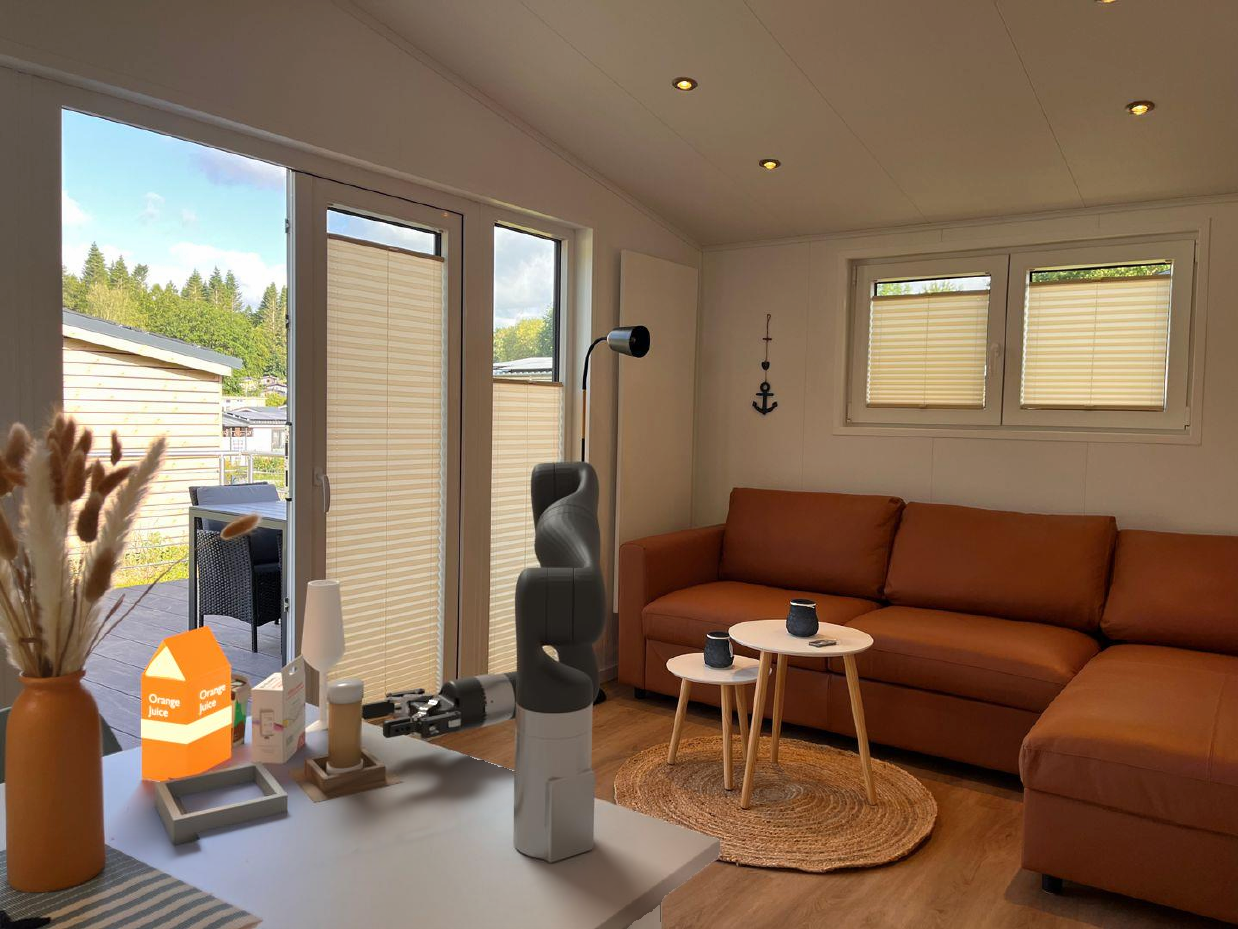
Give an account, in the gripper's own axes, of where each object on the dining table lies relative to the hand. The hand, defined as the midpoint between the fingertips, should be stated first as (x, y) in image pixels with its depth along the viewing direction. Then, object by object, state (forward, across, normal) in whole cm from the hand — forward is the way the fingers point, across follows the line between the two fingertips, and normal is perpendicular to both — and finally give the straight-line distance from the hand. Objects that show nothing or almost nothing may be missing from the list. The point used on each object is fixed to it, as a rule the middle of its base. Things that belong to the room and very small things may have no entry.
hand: (372, 721), depth 125 cm
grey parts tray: (+20, 0, +8) cm, 21 cm away
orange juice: (+21, -16, +8) cm, 28 cm away
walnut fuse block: (+4, 0, +8) cm, 9 cm away
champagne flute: (0, -22, +8) cm, 23 cm away
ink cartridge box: (+9, -14, +8) cm, 19 cm away
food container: (+14, -25, +8) cm, 30 cm away
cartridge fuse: (+4, 0, +7) cm, 8 cm away
